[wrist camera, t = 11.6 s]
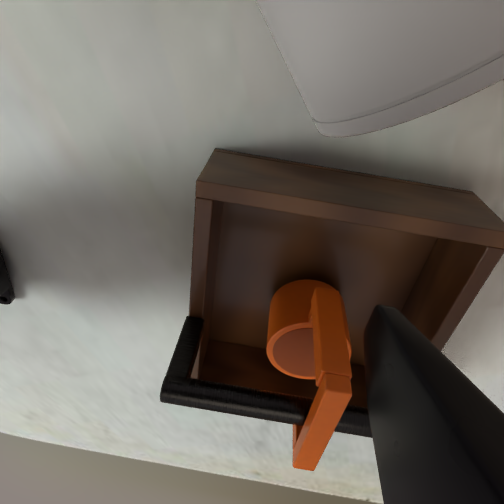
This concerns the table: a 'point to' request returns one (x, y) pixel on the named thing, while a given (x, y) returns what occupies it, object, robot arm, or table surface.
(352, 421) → the basket handle
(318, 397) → the measuring cup
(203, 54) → the table surface
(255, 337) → the basket
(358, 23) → the bent grey cylinder
